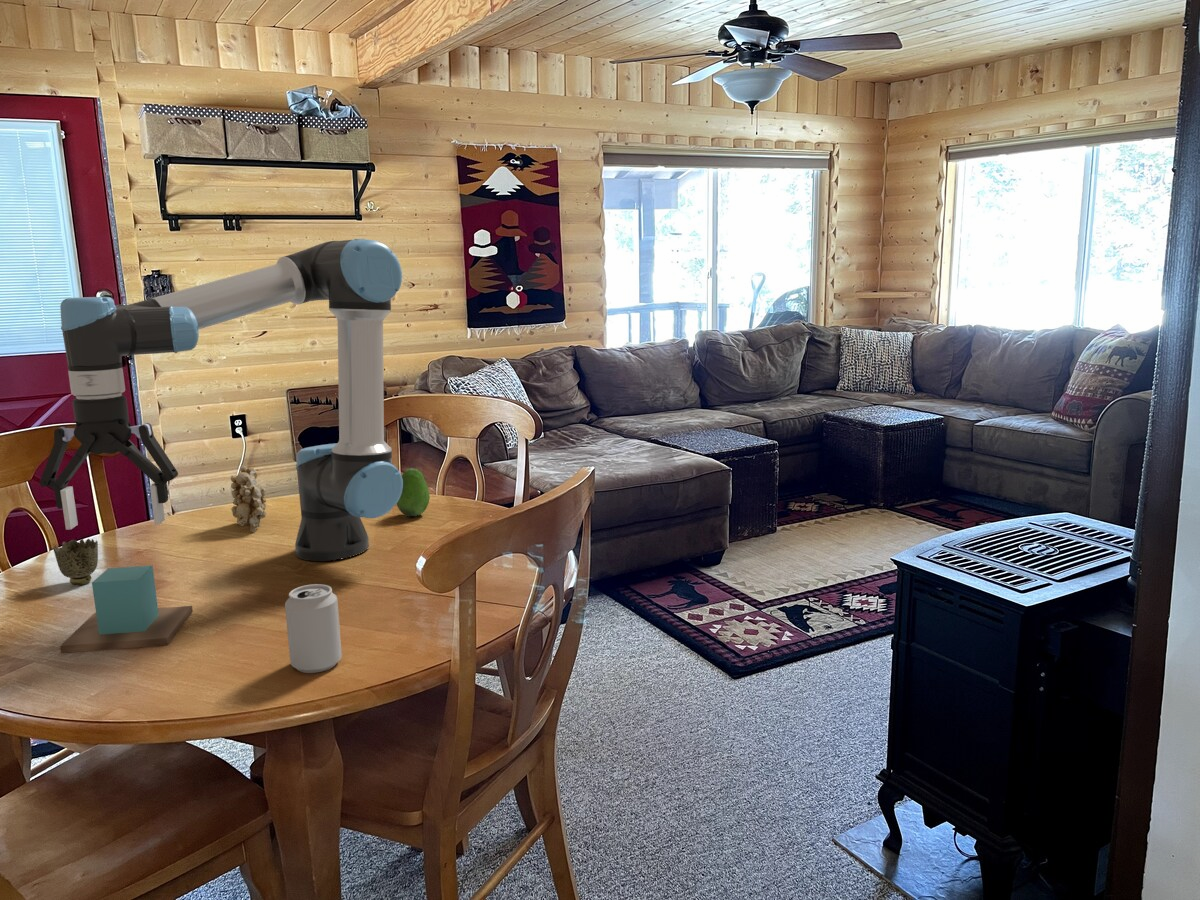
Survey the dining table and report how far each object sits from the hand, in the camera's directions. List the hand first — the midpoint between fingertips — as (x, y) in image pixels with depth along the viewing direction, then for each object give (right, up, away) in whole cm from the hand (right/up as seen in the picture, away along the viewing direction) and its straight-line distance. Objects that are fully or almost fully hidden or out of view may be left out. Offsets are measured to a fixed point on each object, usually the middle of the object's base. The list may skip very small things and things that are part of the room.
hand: (116, 524), depth 143 cm
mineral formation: (-2, -6, +63) cm, 63 cm away
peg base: (0, -18, +4) cm, 19 cm away
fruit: (+34, -4, +71) cm, 78 cm away
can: (+36, -21, -9) cm, 42 cm away
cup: (-22, -14, +27) cm, 38 cm away
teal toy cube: (0, -17, +4) cm, 17 cm away
